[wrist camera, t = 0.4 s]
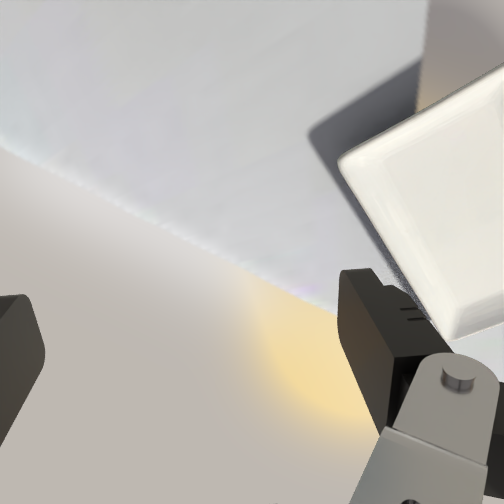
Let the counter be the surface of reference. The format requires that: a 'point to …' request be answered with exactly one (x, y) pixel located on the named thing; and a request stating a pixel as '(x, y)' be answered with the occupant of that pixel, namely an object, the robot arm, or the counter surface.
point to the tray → (442, 203)
